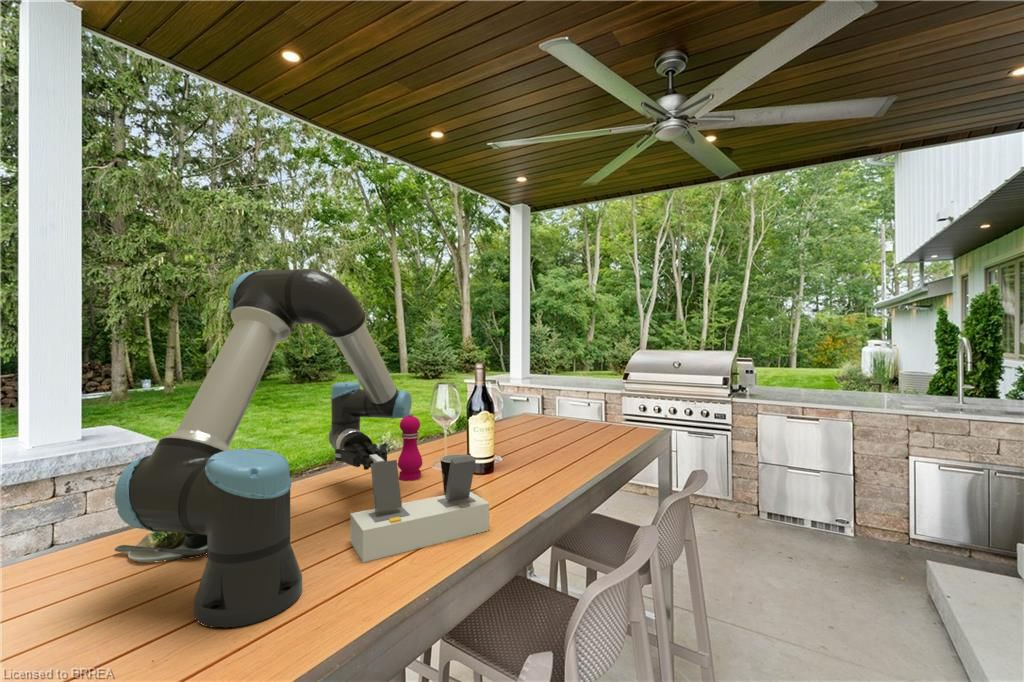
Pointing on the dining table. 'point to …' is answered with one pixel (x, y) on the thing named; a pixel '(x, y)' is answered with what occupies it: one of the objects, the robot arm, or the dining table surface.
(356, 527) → the switch box
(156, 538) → the salad plate
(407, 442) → the pepper mill
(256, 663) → the dining table surface
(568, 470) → the dining table surface
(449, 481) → the far switch
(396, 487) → the near switch
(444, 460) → the coffee mug
